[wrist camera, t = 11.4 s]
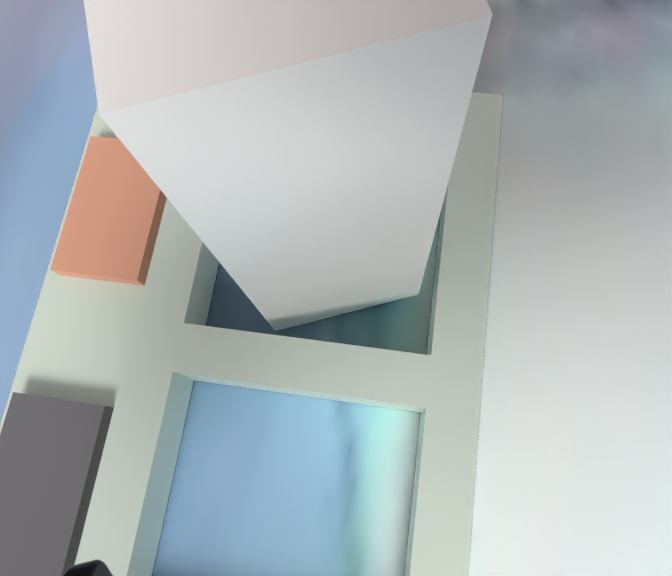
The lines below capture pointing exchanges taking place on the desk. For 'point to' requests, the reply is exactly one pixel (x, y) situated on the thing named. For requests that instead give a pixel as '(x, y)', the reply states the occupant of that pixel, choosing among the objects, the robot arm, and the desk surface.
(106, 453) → the socket board
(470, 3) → the white upright block
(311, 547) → the desk surface
